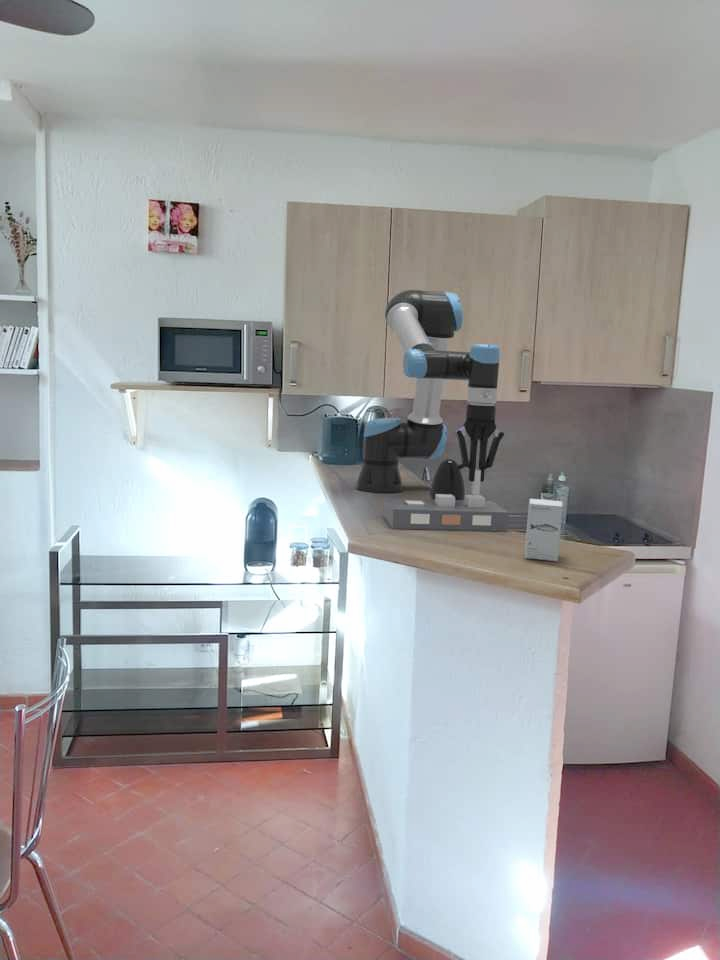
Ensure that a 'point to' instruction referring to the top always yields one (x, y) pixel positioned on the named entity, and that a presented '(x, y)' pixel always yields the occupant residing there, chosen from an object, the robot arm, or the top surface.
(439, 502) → the button
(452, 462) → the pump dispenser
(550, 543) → the supplement box
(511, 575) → the top surface
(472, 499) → the button
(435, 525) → the console
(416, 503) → the button
